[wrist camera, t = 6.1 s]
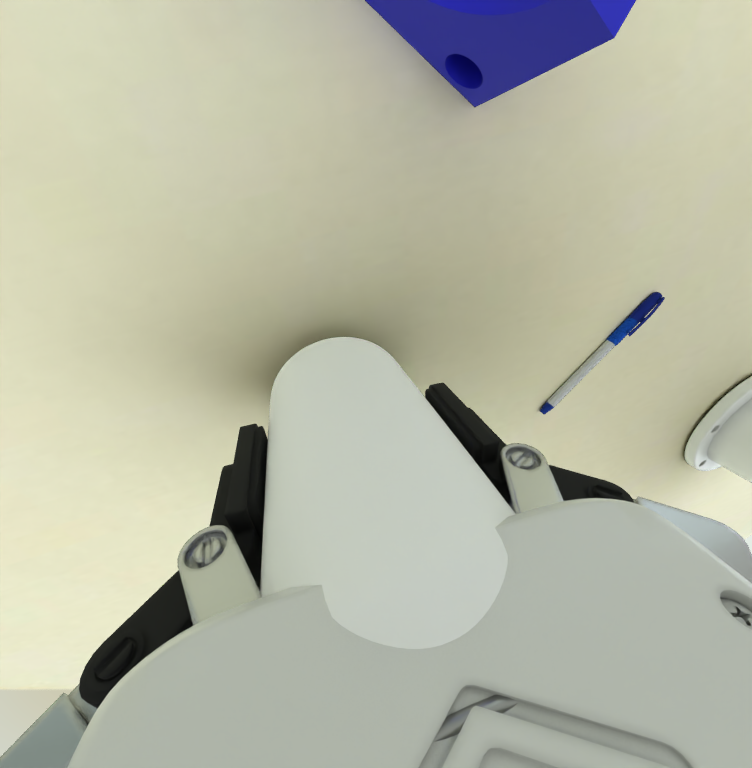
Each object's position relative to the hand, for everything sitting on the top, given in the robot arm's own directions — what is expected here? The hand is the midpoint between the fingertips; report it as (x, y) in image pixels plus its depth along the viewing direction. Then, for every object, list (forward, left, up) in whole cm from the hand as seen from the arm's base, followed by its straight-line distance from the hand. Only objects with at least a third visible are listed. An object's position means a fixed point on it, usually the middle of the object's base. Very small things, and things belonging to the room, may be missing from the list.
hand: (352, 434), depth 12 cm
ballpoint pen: (-10, +15, -5) cm, 19 cm away
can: (0, 0, -3) cm, 3 cm away
